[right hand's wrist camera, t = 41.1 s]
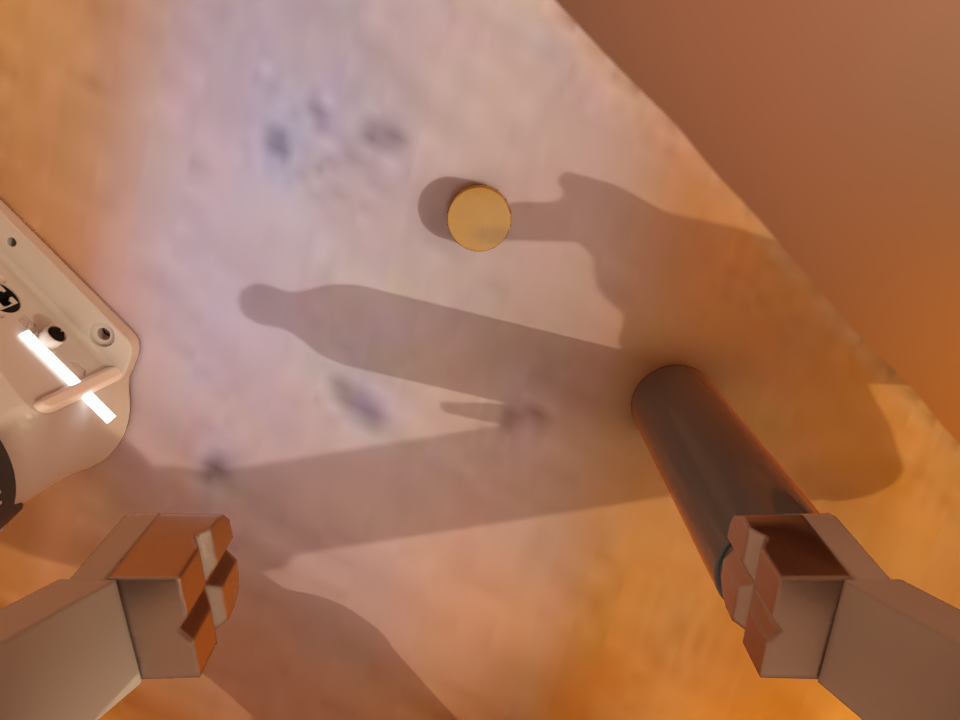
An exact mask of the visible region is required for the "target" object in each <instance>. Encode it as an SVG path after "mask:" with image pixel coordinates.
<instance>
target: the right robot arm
mask: <svg viewBox="0 0 960 720" xmlns="http://www.w3.org/2000/svg"><path fill="white" fill-rule="evenodd" d="M103 328H105V329H107V330H108V331H109V333H110V336H107V335H106V334H105V333H104V332H103ZM139 351H140V343H139V340H138V338H137V336H136V335H135V333H134V332H133V331H132V330H131V329H130V328H129V327H128V326H127V325H126V324H125V323H124V322H123V321H122V320H121V319H120V318H119V317H118V316H117V315H116V314H115V313H114V312H113V311H112V310H111V309H110V308H109V307H108V306H107V305H106V304H105V303H104V302H103V301H102V300H101V299H100V298H99V297H98V296H97V295H96V294H95V293H94V292H93V291H92V290H91V289H90V288H89V287H88V286H87V285H86V284H85V283H84V282H83V281H82V280H81V279H80V278H79V277H78V276H77V275H76V274H75V273H74V272H73V271H72V270H71V269H70V268H69V267H68V266H67V265H66V264H65V263H64V262H63V261H62V260H61V259H60V258H59V257H58V256H57V255H56V254H55V253H54V252H53V251H52V250H51V249H50V248H49V247H48V246H47V245H46V244H45V243H44V242H43V241H42V240H41V239H40V238H39V237H38V236H37V235H36V234H35V233H34V232H33V231H32V230H31V229H30V228H29V227H28V226H27V225H26V224H25V223H24V222H23V221H22V220H21V219H20V218H19V217H18V216H17V215H16V214H15V213H14V212H13V211H12V210H11V209H10V208H9V207H8V206H7V205H6V204H5V203H4V202H3V201H2V200H1V199H0V532H1V531H2V530H3V529H4V528H5V527H6V526H7V523H8V522H9V521H10V520H11V519H12V518H13V517H14V516H15V515H16V514H17V513H18V512H19V511H20V510H21V509H22V507H23V504H24V503H26V502H27V501H29V500H30V499H32V498H33V497H35V496H36V495H38V494H39V493H41V492H42V491H44V490H45V489H47V488H49V487H50V486H52V485H54V484H55V483H57V482H59V481H61V480H63V479H64V478H66V477H68V476H70V475H73V474H75V473H77V472H80V471H83V470H86V469H88V468H90V467H92V466H94V465H96V464H98V463H100V462H101V461H103V460H104V459H105V458H106V457H108V456H109V455H110V454H111V453H112V452H113V451H114V450H115V448H116V447H117V446H118V444H119V443H120V441H121V440H122V438H123V436H124V434H125V431H126V428H127V425H128V421H129V415H130V394H129V378H130V374H131V372H132V370H133V368H134V366H135V363H136V361H137V358H138V355H139ZM232 537H233V536H232V531H231V526H230V522H229V519H228V518H227V517H226V516H224V515H212V514H165V513H164V514H159V513H133V514H130V515H127V516H125V517H124V518H123V519H122V520H121V521H120V522H119V523H118V524H117V525H116V527H115V528H114V529H113V530H112V531H111V532H110V533H109V535H108V536H107V537H106V538H105V539H104V540H103V542H102V543H101V544H100V545H99V546H98V547H97V548H96V550H95V551H94V552H93V553H92V554H91V555H90V556H89V558H88V559H87V560H86V561H85V562H84V563H83V564H82V566H81V567H80V568H79V569H78V570H77V571H76V572H75V574H74V575H73V576H72V577H71V578H70V579H69V580H57V581H55V582H53V583H52V584H50V585H48V586H46V587H44V588H42V589H40V590H38V591H36V592H34V593H32V594H30V595H28V596H26V597H24V598H22V599H20V600H18V601H16V602H14V603H12V604H10V605H8V606H6V607H4V608H3V609H1V610H0V720H98V719H99V718H100V717H101V716H103V715H104V714H105V713H106V712H107V711H108V710H110V709H111V708H112V707H113V706H114V705H115V704H117V703H118V702H119V701H120V700H121V699H123V698H124V697H125V696H126V695H127V694H128V693H130V692H131V691H132V690H133V689H134V688H136V687H137V686H138V685H139V684H140V683H141V682H142V680H141V679H159V678H193V677H200V676H201V674H202V672H203V670H204V668H205V666H206V664H207V662H208V660H209V658H210V656H211V654H212V652H213V650H214V648H215V646H216V644H217V639H216V633H215V629H216V628H218V627H219V626H220V625H222V624H223V623H224V622H226V621H227V620H228V619H229V617H230V615H231V612H232V610H233V608H234V606H235V601H236V597H237V592H238V588H239V572H238V565H237V560H236V559H235V558H234V557H233V556H232V555H231V554H230V553H229V552H228V551H227V550H226V548H227V546H228V545H229V543H230V541H231V539H232ZM727 537H728V539H729V541H730V543H731V545H732V546H733V548H734V550H733V551H732V552H731V553H730V554H729V555H728V556H727V557H726V558H725V559H724V560H723V566H722V574H721V583H722V594H723V598H724V602H725V605H726V608H727V610H728V612H729V615H730V617H731V619H732V620H733V621H734V622H736V623H737V624H738V625H740V626H741V627H742V628H744V629H745V633H744V639H743V644H744V646H745V648H746V650H747V652H748V654H749V656H750V658H751V660H752V662H753V664H754V666H755V668H756V670H757V672H758V674H759V676H760V677H765V678H800V679H819V680H818V682H819V683H820V684H821V685H822V686H824V687H825V688H826V689H827V690H828V691H830V692H831V693H832V694H833V695H834V696H835V697H837V698H838V699H839V700H840V701H841V702H842V703H844V704H845V705H846V706H847V707H848V708H849V709H851V710H852V711H853V712H854V713H855V714H857V715H858V716H859V717H860V718H861V719H862V720H960V610H959V609H957V608H955V607H953V606H951V605H950V604H948V603H946V602H944V601H942V600H940V599H938V598H936V597H934V596H932V595H930V594H928V593H926V592H924V591H922V590H920V589H918V588H916V587H914V586H912V585H910V584H908V583H907V582H905V581H903V580H891V579H890V578H889V577H888V576H887V575H886V574H885V572H884V571H883V570H882V569H881V568H880V567H879V566H878V564H877V563H876V562H875V561H874V560H873V559H872V558H871V556H870V555H869V554H868V553H867V552H866V551H865V550H864V548H863V547H862V546H861V545H860V544H859V543H858V542H857V540H856V539H855V538H854V537H853V536H852V535H851V534H850V532H849V531H848V530H847V529H846V528H845V527H844V526H843V524H842V523H841V522H840V521H839V520H838V519H837V517H835V516H833V515H831V514H829V513H811V514H796V515H735V516H733V518H732V520H731V522H730V525H729V530H728V535H727Z"/></svg>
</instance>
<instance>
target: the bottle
mask: <svg viewBox="0 0 960 720" xmlns="http://www.w3.org/2000/svg"><path fill="white" fill-rule="evenodd" d="M631 411H632V416H633V419H634V421H635V423H636V425H637V427H638V429H639V431H640V434H641V436H642V438H643V440H644V442H645V444H646V446H647V448H648V450H649V452H650V454H651V456H652V458H653V460H654V462H655V464H656V466H657V468H658V470H659V472H660V474H661V476H662V478H663V480H664V482H665V485H666V487H667V489H668V491H669V493H670V495H671V497H672V499H673V501H674V503H675V505H676V507H677V509H678V511H679V513H680V515H681V517H682V519H683V521H684V523H685V525H686V527H687V529H688V531H689V533H690V536H691V538H692V540H693V542H694V544H695V546H696V548H697V550H698V552H699V554H700V556H701V558H702V560H703V562H704V564H705V566H706V568H707V570H708V572H709V574H710V576H711V578H712V580H713V582H714V584H715V587H716V589H717V590H718V592H719V594H720V596H721V597H722V598H723V594H722V583H721V574H722V566H723V560H724V559H725V558H726V557H727V556H728V555H729V554H730V553H731V552H732V551H733V550H734V548H733V546H732V545H731V543H730V541H729V539H728V537H727V535H728V530H729V525H730V522H731V520H732V518H733V516H735V515H796V514H811V513H819V511H818V510H817V509H816V508H815V507H814V505H813V504H812V503H811V502H810V501H809V499H808V498H807V497H806V496H805V495H804V493H803V492H802V491H801V490H800V489H799V487H798V486H797V485H796V484H795V483H794V481H793V480H792V479H791V478H790V477H789V475H788V474H787V473H786V472H785V471H784V469H783V468H782V467H781V466H780V465H779V463H778V462H777V461H776V460H775V459H774V457H773V456H772V455H771V454H770V453H769V451H768V450H767V449H766V448H765V447H764V445H763V444H762V443H761V442H760V441H759V439H758V438H757V437H756V436H755V435H754V433H753V432H752V431H751V430H750V429H749V428H748V426H747V425H746V424H745V423H744V422H743V420H742V419H741V418H740V417H739V416H738V414H737V413H736V412H735V411H734V410H733V408H732V407H731V406H730V405H729V404H728V402H727V401H726V400H725V399H724V398H723V396H722V395H721V394H720V393H719V392H718V390H717V389H716V388H715V387H714V386H713V384H712V383H711V382H710V381H709V380H708V378H707V377H706V376H705V375H704V374H702V373H701V372H700V371H698V370H696V369H694V368H691V367H687V366H681V365H674V366H668V367H663V368H661V369H658V370H656V371H654V372H652V373H651V374H649V375H648V376H647V377H646V378H644V379H643V381H642V382H641V383H640V384H639V385H638V387H637V389H636V390H635V392H634V395H633V398H632V404H631ZM723 599H724V598H723Z"/></svg>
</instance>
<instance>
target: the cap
mask: <svg viewBox="0 0 960 720" xmlns="http://www.w3.org/2000/svg"><path fill="white" fill-rule="evenodd" d="M447 213H448V224H447V225H448V227H449V230H450V233H451V235H452V237H453V238H454V239H455V241H456V242H457V243H458V244H460V245H461V246H462V247H464V248H466V249H469V250H472V251H486V250H490V249H492V248H494V247H496V246H497V245H499V244H500V243H501V242H502V241H503V240H504V238H505V237H506V235H507V234H508V231H509V228H510V226H511V225H510V223H511V215H510V214H511V211H510V210H509V207H508V204H507V200H506V199H505V198H504V197H503V196H502V195H501V194H500V193H499V192H498V190H495V189H494V188H492V187H489V186H487V185H474V184H473V186H469V187H467V188H465V189H461V191H460V192H459V193H458V194H457V195H456V196H455V197H454V198H453V199H452V203H451V205H450V208H449V209H448V212H447Z"/></svg>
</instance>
